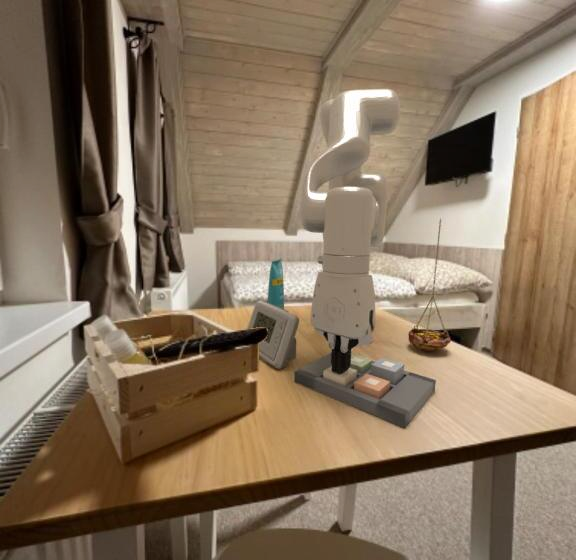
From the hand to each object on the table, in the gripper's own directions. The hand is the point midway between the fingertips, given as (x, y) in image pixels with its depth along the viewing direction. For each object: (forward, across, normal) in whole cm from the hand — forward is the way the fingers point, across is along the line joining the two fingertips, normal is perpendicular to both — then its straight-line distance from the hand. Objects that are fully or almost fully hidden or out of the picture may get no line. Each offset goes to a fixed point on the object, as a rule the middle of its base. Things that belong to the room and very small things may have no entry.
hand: (340, 370), depth 55 cm
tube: (+3, -28, +14) cm, 32 cm away
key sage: (+3, 0, +6) cm, 7 cm away
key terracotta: (+3, +6, 0) cm, 6 cm away
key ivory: (+3, 0, 0) cm, 3 cm away
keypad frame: (+3, +3, +3) cm, 5 cm away
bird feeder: (+3, +6, +29) cm, 30 cm away
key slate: (+2, +6, +6) cm, 9 cm away
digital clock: (+3, -19, +2) cm, 19 cm away
